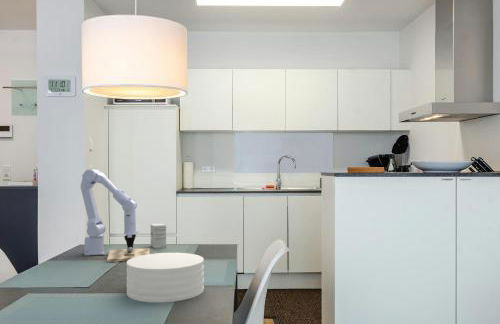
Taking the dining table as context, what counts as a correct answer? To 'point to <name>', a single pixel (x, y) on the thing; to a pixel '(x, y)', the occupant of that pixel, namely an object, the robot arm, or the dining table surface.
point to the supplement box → (158, 235)
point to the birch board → (126, 254)
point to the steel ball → (129, 249)
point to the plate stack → (165, 277)
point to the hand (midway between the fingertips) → (130, 249)
